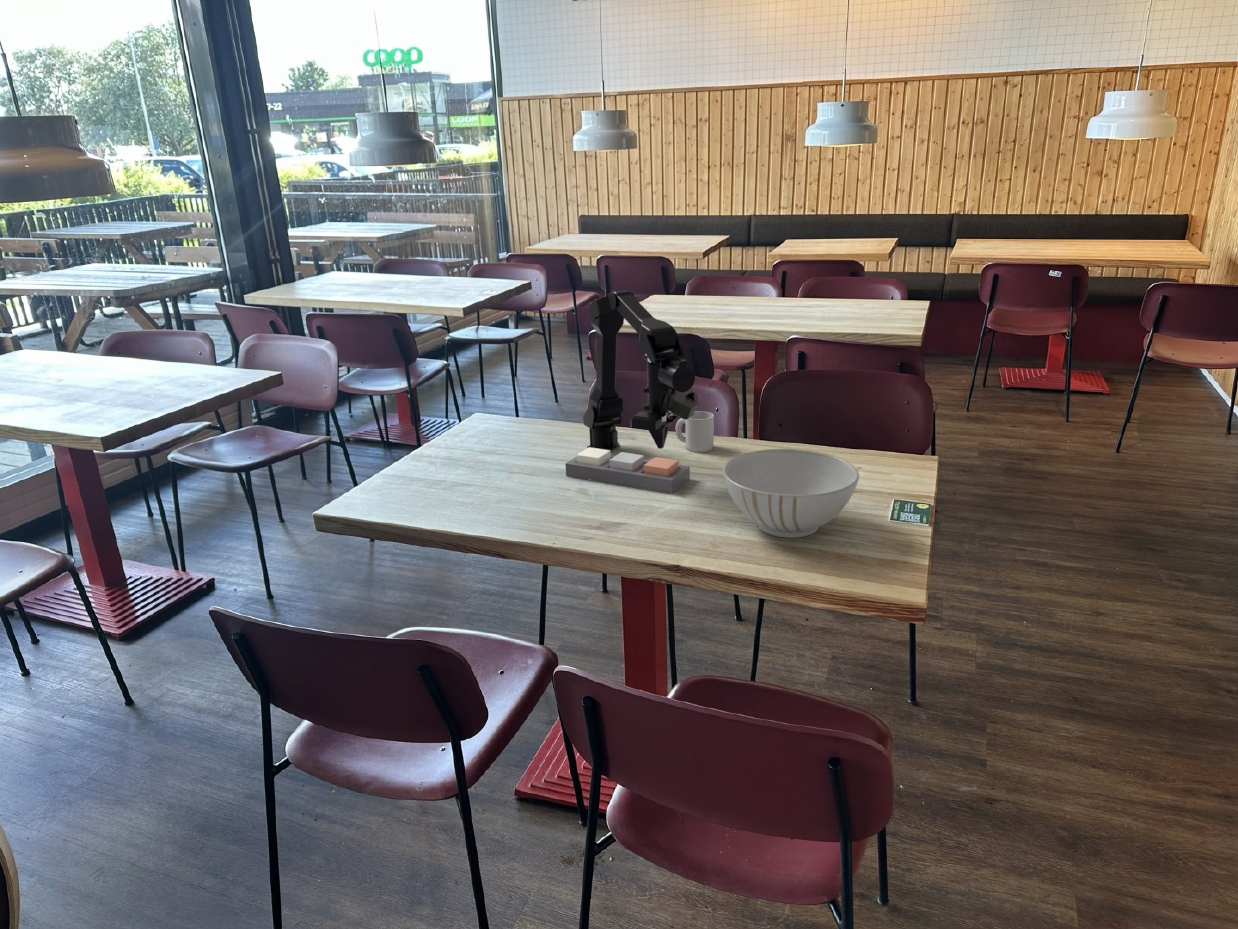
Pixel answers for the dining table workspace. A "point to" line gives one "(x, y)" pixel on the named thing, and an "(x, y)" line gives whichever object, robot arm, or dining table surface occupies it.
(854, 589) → the dining table surface
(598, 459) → the cream key
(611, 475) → the frame
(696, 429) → the cup
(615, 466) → the grey key
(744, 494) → the decorative bowl
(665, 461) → the terracotta key
